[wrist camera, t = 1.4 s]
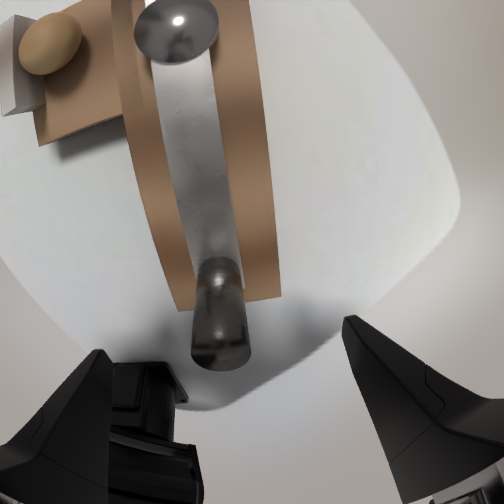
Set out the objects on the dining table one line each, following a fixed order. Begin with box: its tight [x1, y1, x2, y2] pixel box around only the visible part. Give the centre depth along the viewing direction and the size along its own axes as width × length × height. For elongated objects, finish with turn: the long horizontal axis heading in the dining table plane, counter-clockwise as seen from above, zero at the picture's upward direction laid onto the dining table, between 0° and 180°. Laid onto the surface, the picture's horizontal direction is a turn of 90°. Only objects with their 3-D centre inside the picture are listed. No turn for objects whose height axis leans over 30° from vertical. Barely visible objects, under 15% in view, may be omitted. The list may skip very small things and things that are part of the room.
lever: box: [134, 0, 251, 371], centre depth 8 cm, size 16×3×6 cm, turn 7°
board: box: [0, 0, 281, 312], centre depth 10 cm, size 18×11×5 cm, turn 7°
